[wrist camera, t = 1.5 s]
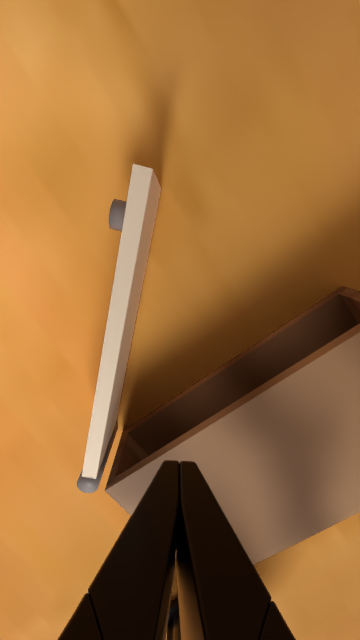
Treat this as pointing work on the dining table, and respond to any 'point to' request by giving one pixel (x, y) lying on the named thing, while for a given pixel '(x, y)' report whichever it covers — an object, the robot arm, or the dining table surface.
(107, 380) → the door
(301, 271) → the dining table surface
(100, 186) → the dining table surface
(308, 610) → the dining table surface
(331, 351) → the walnut box
